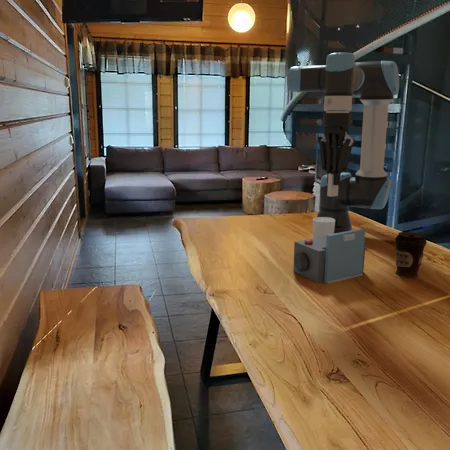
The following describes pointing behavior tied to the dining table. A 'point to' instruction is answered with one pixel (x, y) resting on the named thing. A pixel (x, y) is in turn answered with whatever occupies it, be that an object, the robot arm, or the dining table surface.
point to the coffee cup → (409, 253)
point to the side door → (344, 255)
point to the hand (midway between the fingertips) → (332, 195)
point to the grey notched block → (312, 258)
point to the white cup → (323, 226)
